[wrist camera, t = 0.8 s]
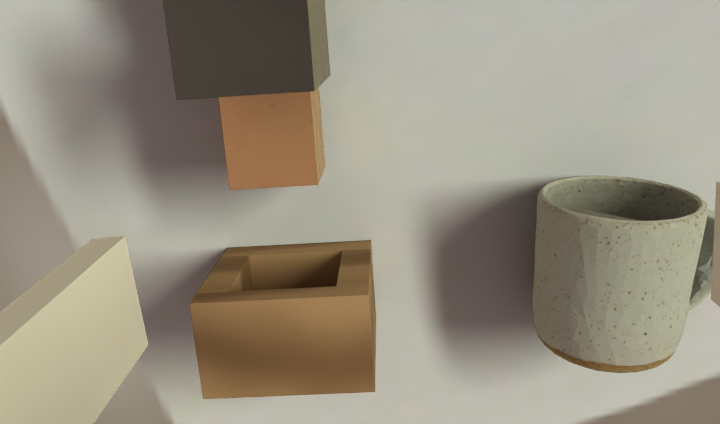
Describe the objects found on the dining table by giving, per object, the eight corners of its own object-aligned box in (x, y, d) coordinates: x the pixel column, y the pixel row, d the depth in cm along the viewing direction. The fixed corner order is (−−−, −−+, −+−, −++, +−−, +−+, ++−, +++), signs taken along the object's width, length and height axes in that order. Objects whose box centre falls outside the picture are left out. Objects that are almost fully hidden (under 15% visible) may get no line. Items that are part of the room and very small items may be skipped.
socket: (227, 247, 37) (189, 303, 30) (370, 240, 37) (368, 294, 30) (237, 326, 39) (203, 399, 31) (376, 320, 38) (375, 391, 31)
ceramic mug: (517, 317, 38) (553, 388, 31) (521, 176, 36) (562, 216, 28) (706, 312, 38) (788, 383, 30) (722, 170, 36) (816, 209, 28)
